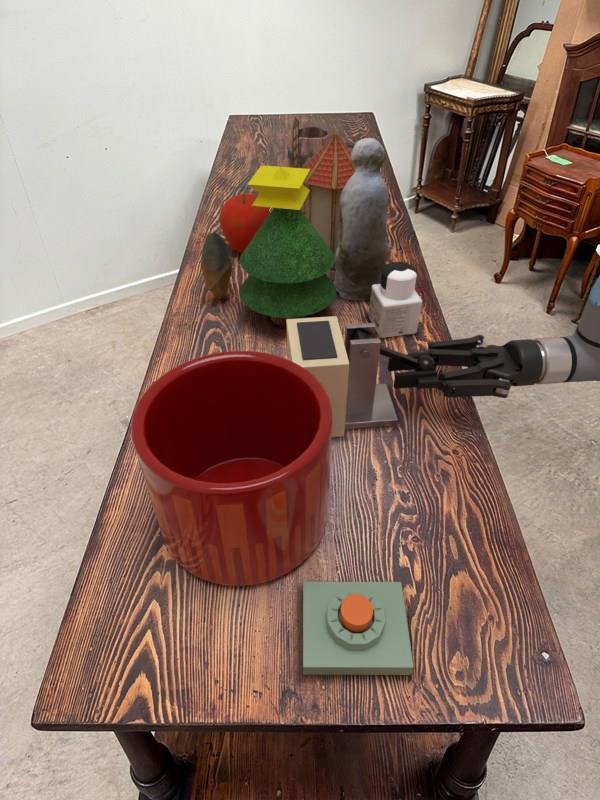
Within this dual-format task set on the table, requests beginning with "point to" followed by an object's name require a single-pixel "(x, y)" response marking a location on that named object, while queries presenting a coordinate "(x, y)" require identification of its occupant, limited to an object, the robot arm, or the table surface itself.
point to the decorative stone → (216, 265)
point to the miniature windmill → (325, 184)
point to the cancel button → (356, 613)
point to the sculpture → (362, 224)
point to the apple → (241, 220)
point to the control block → (355, 651)
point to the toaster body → (322, 360)
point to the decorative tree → (285, 251)
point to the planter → (236, 464)
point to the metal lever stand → (366, 382)
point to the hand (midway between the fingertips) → (392, 372)
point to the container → (395, 301)
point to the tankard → (309, 145)
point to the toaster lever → (401, 355)
